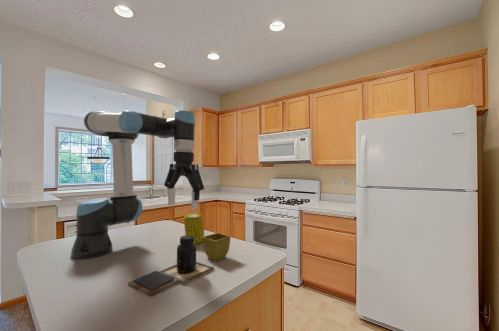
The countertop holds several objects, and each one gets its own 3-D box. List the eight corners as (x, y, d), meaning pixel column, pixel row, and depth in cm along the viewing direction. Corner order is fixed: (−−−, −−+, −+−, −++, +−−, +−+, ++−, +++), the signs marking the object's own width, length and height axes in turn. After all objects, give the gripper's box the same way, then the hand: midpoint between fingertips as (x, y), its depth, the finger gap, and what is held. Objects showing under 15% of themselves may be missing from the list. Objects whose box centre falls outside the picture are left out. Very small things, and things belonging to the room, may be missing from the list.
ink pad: (133, 281, 74) (133, 280, 74) (155, 272, 81) (155, 270, 81) (151, 291, 69) (151, 289, 69) (173, 280, 75) (173, 278, 75)
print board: (157, 274, 82) (157, 271, 82) (188, 261, 93) (188, 258, 93) (184, 285, 74) (184, 282, 74) (214, 269, 85) (214, 267, 86)
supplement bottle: (172, 273, 81) (173, 239, 81) (182, 265, 88) (182, 233, 88) (191, 275, 79) (191, 240, 80) (199, 267, 86) (199, 234, 86)
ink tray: (128, 285, 74) (128, 282, 74) (156, 273, 82) (156, 270, 82) (150, 297, 67) (150, 293, 67) (178, 282, 75) (178, 279, 75)
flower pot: (201, 258, 97) (201, 236, 97) (217, 252, 103) (217, 232, 103) (214, 264, 91) (214, 241, 91) (231, 257, 97) (231, 236, 97)
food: (206, 245, 118) (186, 249, 113) (200, 234, 128) (181, 237, 123) (207, 217, 114) (187, 220, 110) (200, 208, 124) (181, 211, 120)
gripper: (155, 151, 93) (154, 204, 93) (199, 150, 79) (197, 212, 79) (171, 152, 99) (170, 202, 99) (214, 151, 85) (213, 209, 85)
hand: (182, 206), depth 89 cm, fingers open, 13 cm apart
